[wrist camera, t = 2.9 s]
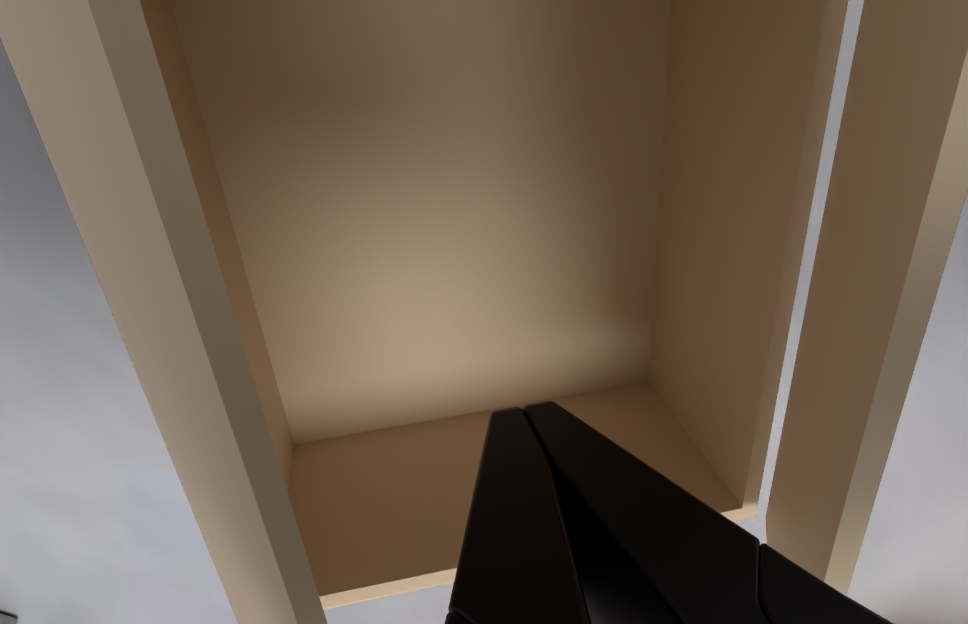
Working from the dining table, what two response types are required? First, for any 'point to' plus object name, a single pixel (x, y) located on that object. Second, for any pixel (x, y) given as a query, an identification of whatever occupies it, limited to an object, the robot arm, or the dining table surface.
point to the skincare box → (7, 619)
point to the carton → (499, 238)
